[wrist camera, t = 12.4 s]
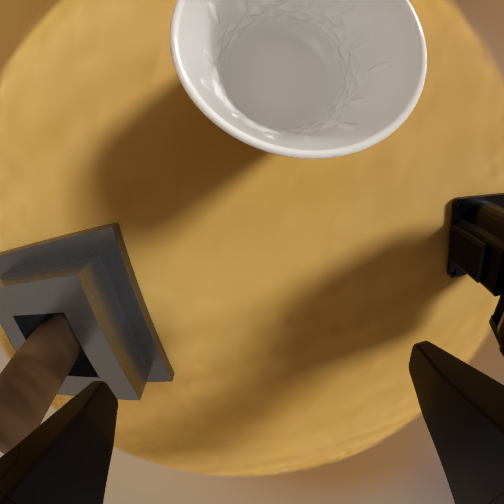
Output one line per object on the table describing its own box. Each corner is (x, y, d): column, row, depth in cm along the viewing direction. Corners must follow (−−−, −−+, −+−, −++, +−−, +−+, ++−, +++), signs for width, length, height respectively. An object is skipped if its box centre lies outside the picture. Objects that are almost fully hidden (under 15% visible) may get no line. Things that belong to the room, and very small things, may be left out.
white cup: (262, 167, 18) (274, 211, 9) (186, 68, 16) (121, 16, 6) (366, 101, 16) (464, 89, 7) (292, 3, 14) (326, -87, 5)
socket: (118, 222, 19) (87, 247, 15) (174, 373, 25) (164, 412, 21) (-2, 252, 20) (-32, 274, 16) (58, 371, 26) (41, 400, 22)
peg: (93, 312, 21) (12, 442, 9) (92, 347, 23) (29, 468, 11) (53, 294, 21) (-39, 406, 9) (54, 330, 22) (-18, 438, 10)
